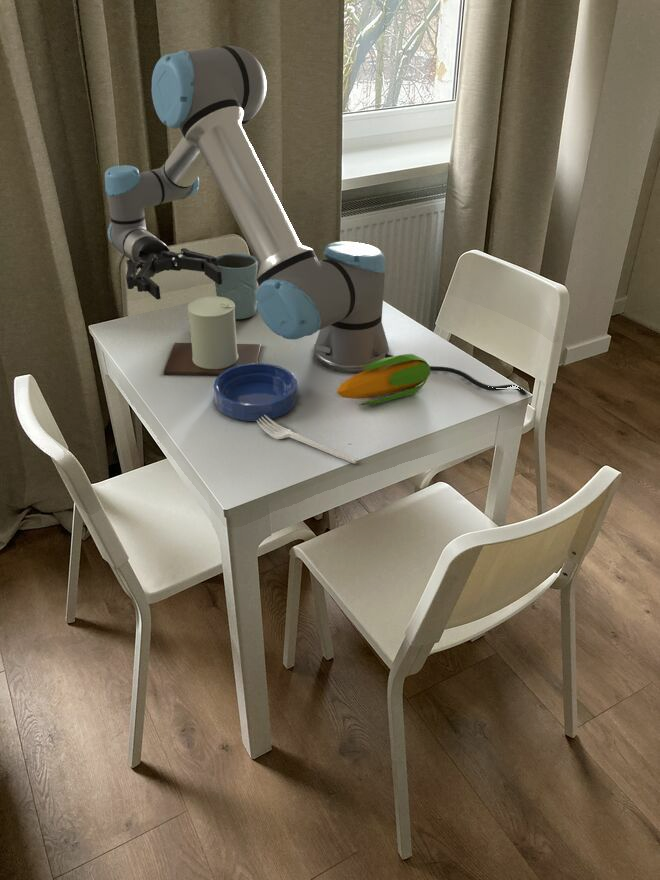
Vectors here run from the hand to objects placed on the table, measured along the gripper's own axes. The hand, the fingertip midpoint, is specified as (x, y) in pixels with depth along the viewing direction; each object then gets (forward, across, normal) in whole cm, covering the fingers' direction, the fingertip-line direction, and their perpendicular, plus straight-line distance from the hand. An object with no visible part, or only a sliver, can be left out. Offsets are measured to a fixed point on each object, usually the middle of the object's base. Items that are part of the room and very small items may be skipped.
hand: (189, 285), depth 150 cm
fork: (+43, 0, -14) cm, 45 cm away
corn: (+38, -21, -14) cm, 46 cm away
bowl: (+26, 0, -13) cm, 29 cm away
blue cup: (-9, -14, -13) cm, 21 cm away
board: (+8, 0, -13) cm, 16 cm away
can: (+9, 0, -13) cm, 16 cm away
